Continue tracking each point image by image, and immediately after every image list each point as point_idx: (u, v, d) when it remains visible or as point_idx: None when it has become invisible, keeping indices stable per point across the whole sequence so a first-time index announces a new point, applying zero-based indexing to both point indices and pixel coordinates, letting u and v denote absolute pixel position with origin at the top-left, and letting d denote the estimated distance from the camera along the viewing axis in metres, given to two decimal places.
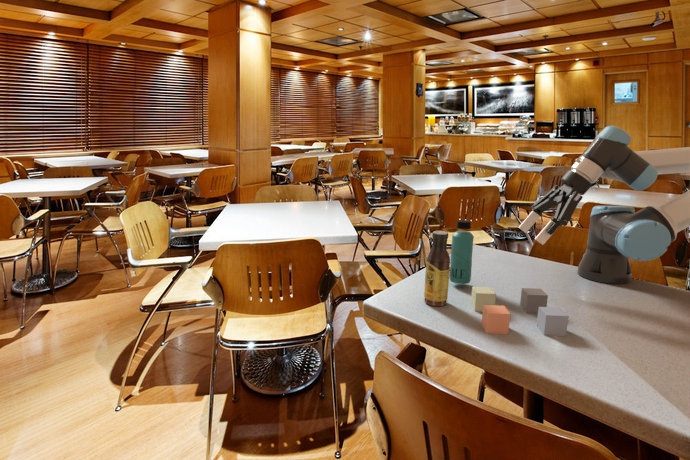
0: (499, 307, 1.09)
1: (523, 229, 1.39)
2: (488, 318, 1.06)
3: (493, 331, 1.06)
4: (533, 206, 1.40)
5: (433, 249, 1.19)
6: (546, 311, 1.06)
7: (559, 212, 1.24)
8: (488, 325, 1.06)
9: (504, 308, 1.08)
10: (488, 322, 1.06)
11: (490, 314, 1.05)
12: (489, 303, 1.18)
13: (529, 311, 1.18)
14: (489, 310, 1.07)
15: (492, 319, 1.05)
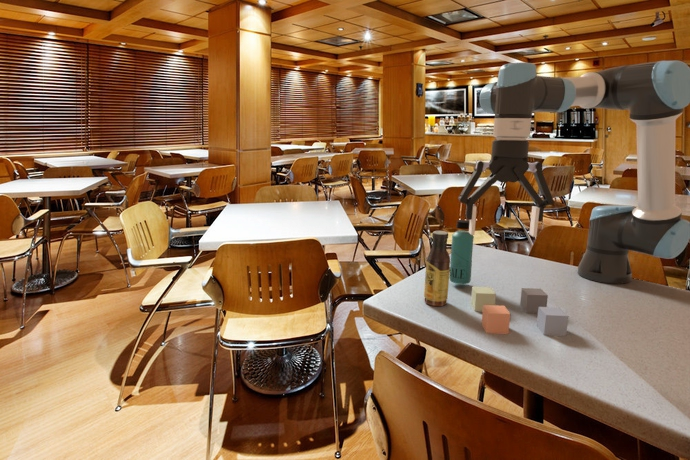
0: (499, 307, 1.09)
1: None
2: (488, 318, 1.06)
3: (493, 331, 1.06)
4: (465, 200, 1.01)
5: (433, 249, 1.19)
6: (546, 311, 1.07)
7: None
8: (488, 325, 1.06)
9: (504, 308, 1.08)
10: (488, 322, 1.06)
11: (490, 314, 1.05)
12: (489, 303, 1.18)
13: (529, 311, 1.18)
14: (489, 310, 1.07)
15: (492, 319, 1.05)
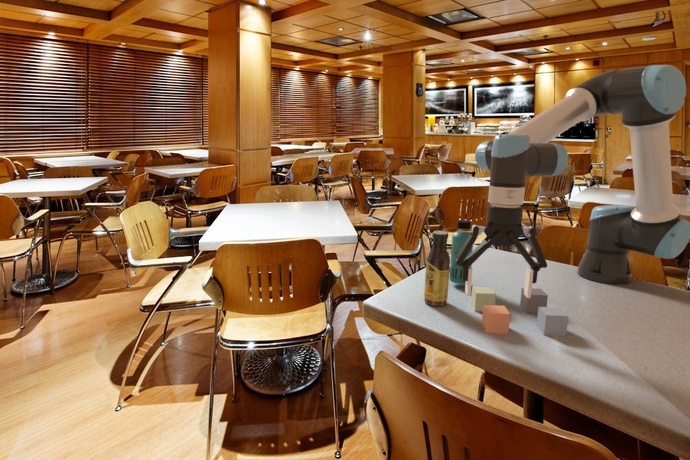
0: (499, 307, 1.09)
1: None
2: (488, 318, 1.06)
3: (493, 331, 1.06)
4: (461, 263, 1.04)
5: (433, 249, 1.19)
6: (545, 311, 1.07)
7: (531, 257, 1.03)
8: (488, 325, 1.06)
9: (504, 308, 1.08)
10: (488, 322, 1.06)
11: (490, 314, 1.05)
12: (489, 303, 1.18)
13: (529, 311, 1.18)
14: (489, 310, 1.07)
15: (492, 319, 1.05)
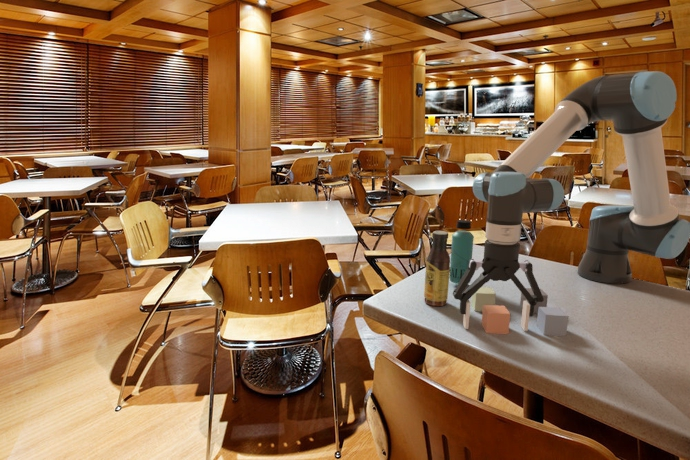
0: (499, 307, 1.09)
1: None
2: (488, 318, 1.06)
3: (493, 331, 1.06)
4: (459, 297, 1.06)
5: (433, 249, 1.19)
6: (545, 311, 1.07)
7: (527, 291, 1.05)
8: (488, 325, 1.06)
9: (504, 308, 1.08)
10: (488, 322, 1.06)
11: (490, 314, 1.05)
12: (489, 303, 1.18)
13: None
14: (489, 310, 1.07)
15: (492, 319, 1.05)
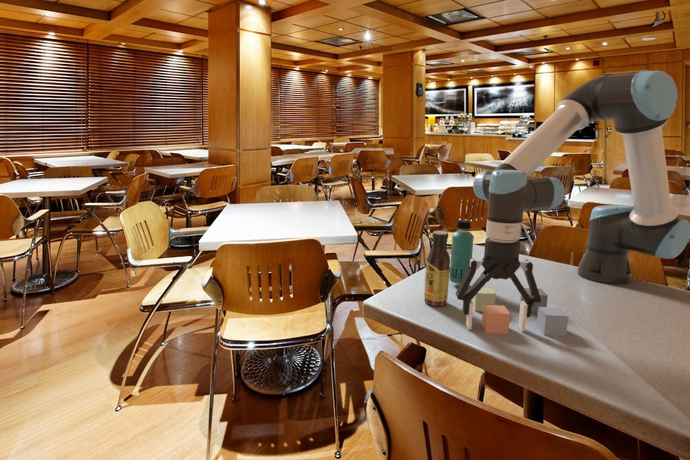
0: (499, 307, 1.09)
1: None
2: (488, 318, 1.06)
3: (493, 331, 1.06)
4: (462, 297, 1.06)
5: (433, 249, 1.19)
6: (545, 311, 1.07)
7: None
8: (488, 325, 1.06)
9: (504, 308, 1.08)
10: (488, 322, 1.06)
11: (490, 314, 1.05)
12: (489, 303, 1.18)
13: None
14: (489, 310, 1.07)
15: (492, 319, 1.05)
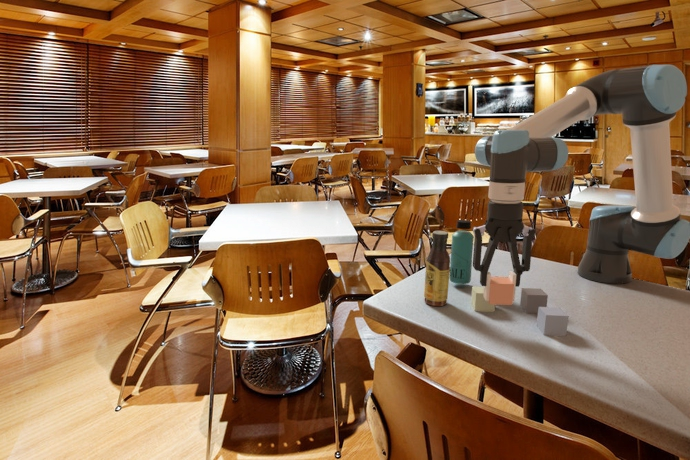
0: (503, 278, 1.07)
1: None
2: (492, 289, 1.04)
3: (497, 302, 1.05)
4: (479, 267, 1.04)
5: (433, 249, 1.19)
6: (545, 311, 1.07)
7: None
8: (492, 296, 1.05)
9: (508, 279, 1.07)
10: (492, 293, 1.04)
11: (493, 285, 1.04)
12: None
13: (529, 311, 1.18)
14: (493, 280, 1.06)
15: (496, 290, 1.04)
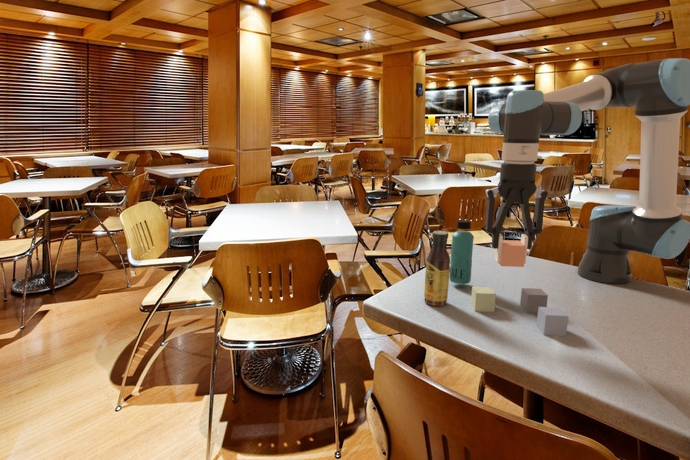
0: (514, 241, 1.08)
1: None
2: (503, 250, 1.05)
3: (508, 264, 1.05)
4: (492, 229, 1.05)
5: (433, 249, 1.19)
6: (545, 311, 1.07)
7: None
8: (503, 258, 1.05)
9: (519, 242, 1.07)
10: (503, 254, 1.05)
11: (505, 246, 1.05)
12: (489, 303, 1.18)
13: (529, 311, 1.18)
14: (504, 243, 1.06)
15: (507, 251, 1.05)
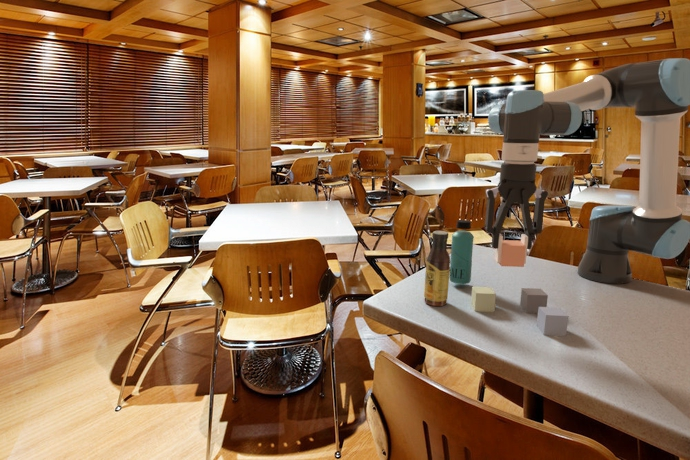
0: (514, 241, 1.08)
1: None
2: (503, 250, 1.05)
3: (508, 264, 1.05)
4: (492, 229, 1.05)
5: (433, 249, 1.19)
6: (545, 311, 1.07)
7: None
8: (503, 258, 1.05)
9: (519, 242, 1.07)
10: (503, 254, 1.05)
11: (505, 246, 1.05)
12: (489, 303, 1.18)
13: (529, 311, 1.18)
14: (504, 243, 1.06)
15: (507, 251, 1.05)
